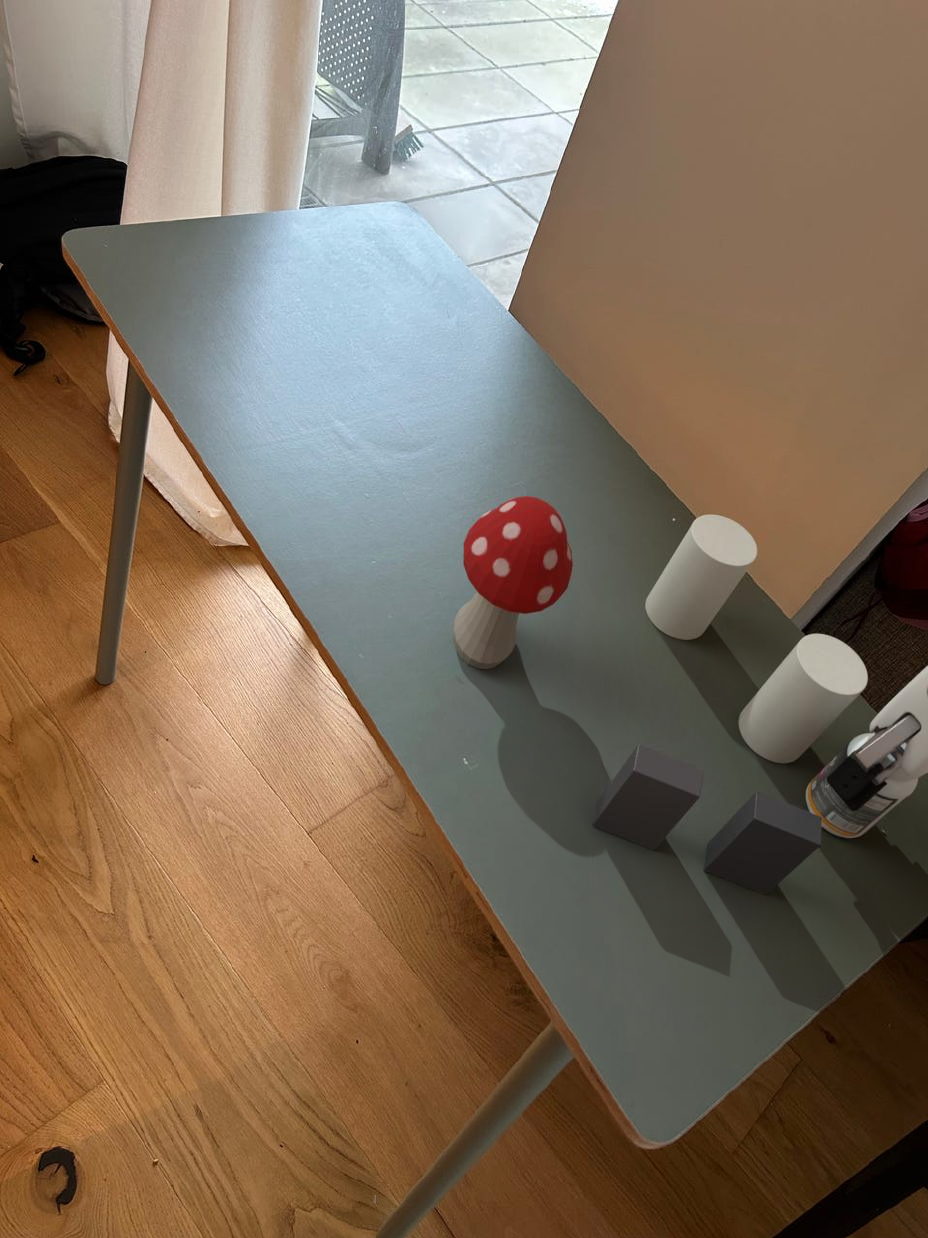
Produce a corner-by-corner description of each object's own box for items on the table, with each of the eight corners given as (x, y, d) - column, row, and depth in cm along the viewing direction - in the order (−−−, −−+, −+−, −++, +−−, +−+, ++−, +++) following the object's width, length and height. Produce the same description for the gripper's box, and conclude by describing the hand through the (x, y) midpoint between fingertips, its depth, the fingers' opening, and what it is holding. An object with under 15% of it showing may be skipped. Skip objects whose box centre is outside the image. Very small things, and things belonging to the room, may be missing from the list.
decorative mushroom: (524, 701, 81) (590, 578, 70) (421, 672, 80) (472, 542, 69) (535, 611, 88) (597, 486, 77) (440, 584, 87) (489, 453, 76)
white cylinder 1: (708, 604, 94) (759, 530, 87) (702, 649, 90) (755, 575, 83) (649, 580, 94) (695, 504, 87) (640, 624, 90) (688, 548, 83)
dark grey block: (767, 868, 77) (822, 817, 71) (765, 895, 75) (821, 845, 69) (706, 843, 77) (756, 790, 71) (703, 870, 75) (754, 818, 69)
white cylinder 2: (804, 720, 88) (867, 650, 81) (801, 774, 84) (868, 706, 77) (740, 694, 88) (798, 622, 81) (735, 747, 84) (795, 676, 76)
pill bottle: (834, 771, 85) (903, 704, 78) (880, 828, 82) (955, 764, 75) (789, 791, 82) (855, 724, 75) (834, 851, 80) (907, 787, 72)
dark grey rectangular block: (658, 824, 77) (704, 769, 71) (654, 851, 75) (700, 797, 69) (597, 800, 77) (638, 743, 71) (592, 826, 75) (633, 770, 69)
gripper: (992, 724, 60) (830, 862, 73) (1129, 645, 68) (963, 781, 82) (902, 630, 63) (763, 779, 76) (1044, 567, 72) (897, 710, 85)
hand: (868, 779), depth 79 cm, fingers closed on pill bottle, 5 cm apart
